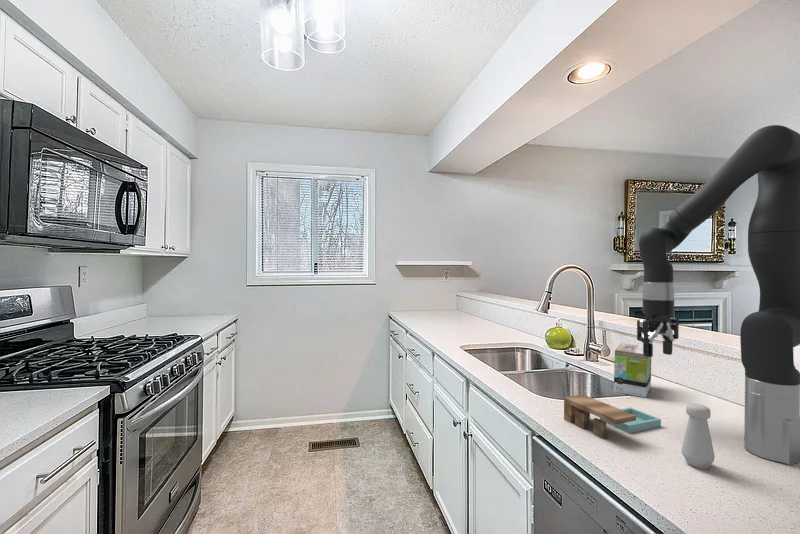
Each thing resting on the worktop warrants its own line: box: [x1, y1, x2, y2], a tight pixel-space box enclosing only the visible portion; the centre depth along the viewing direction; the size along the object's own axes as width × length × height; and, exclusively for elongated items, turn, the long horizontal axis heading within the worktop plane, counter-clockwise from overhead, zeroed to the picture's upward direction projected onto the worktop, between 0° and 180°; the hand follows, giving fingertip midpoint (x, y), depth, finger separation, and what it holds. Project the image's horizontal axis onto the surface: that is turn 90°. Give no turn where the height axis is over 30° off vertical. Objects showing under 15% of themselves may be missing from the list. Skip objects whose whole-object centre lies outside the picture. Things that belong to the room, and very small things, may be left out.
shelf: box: [563, 394, 636, 440], centre depth 102 cm, size 16×7×6 cm, turn 21°
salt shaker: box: [681, 403, 715, 470], centre depth 84 cm, size 6×6×13 cm
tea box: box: [613, 343, 652, 399], centre depth 135 cm, size 15×10×15 cm, turn 143°
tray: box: [599, 407, 662, 434], centre depth 106 cm, size 9×12×2 cm
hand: (657, 355), depth 110 cm, fingers open, 7 cm apart
